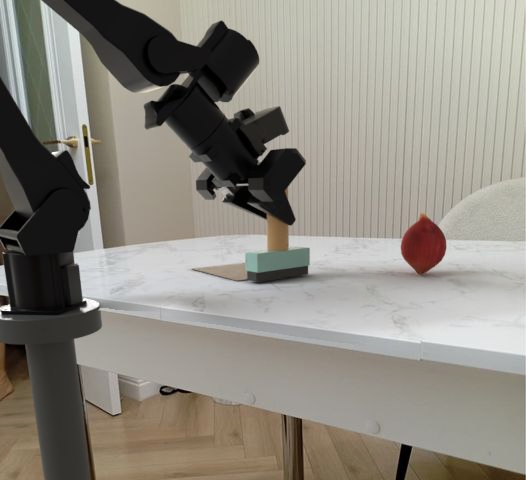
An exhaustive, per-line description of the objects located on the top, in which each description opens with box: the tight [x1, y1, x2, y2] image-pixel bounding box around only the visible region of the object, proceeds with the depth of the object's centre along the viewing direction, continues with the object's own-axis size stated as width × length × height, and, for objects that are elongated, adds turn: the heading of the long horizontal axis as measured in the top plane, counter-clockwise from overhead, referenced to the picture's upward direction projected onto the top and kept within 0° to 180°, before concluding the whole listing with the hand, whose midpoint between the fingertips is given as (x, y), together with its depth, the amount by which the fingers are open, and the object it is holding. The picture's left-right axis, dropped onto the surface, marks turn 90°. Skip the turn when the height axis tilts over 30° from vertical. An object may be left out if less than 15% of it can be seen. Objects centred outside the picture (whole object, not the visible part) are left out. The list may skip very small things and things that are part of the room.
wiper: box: [244, 186, 311, 283], centre depth 76 cm, size 9×3×15 cm, turn 129°
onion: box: [400, 212, 447, 275], centre depth 78 cm, size 6×6×8 cm
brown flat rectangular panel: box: [191, 262, 248, 282], centre depth 86 cm, size 14×10×1 cm
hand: (286, 222), depth 77 cm, fingers closed on wiper, 3 cm apart
